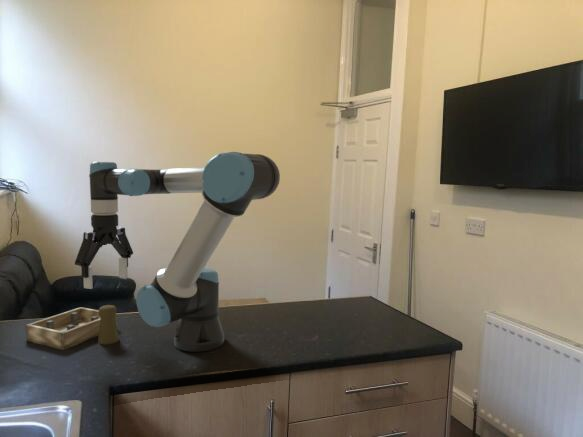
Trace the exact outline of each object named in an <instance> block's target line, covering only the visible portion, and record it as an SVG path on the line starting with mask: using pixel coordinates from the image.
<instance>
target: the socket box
mask: <svg viewBox="0 0 583 437" xmlns="http://www.w3.org/2000/svg"><path fill="white" fill-rule="evenodd" d="M98 312H99V309H94V308H93V309H92V308H88V307H82V306H79V307H77V308H73V309H70V310H68V311H65V312H61V313H58V314H55V315H52V316H49V317H46V318H44V319H39V320H37V321H33V322H31V323H28V324H25V334H26V341H27V342H31V343H33V344H38V345H42V346H45V347H50V348H54V349H58V350H62V351H64V350H67V349H69V348H71V347H74V346H77V345H79V344H81V343H84V342H86V341H89V340H92V339H94V338H96V337H99V328H100V319H101V317H100V316H99V313H98ZM116 315H117V314H116ZM116 315H115V319H116V320H117V316H116Z"/></svg>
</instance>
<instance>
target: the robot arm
mask: <svg viewBox="0 0 583 437" xmlns="http://www.w3.org/2000/svg"><path fill="white" fill-rule="evenodd" d="M88 177H89V189H90V190H89V193H90V213H91V215H90V225H91V227H92V232H91V231H84V232H83V234H82V242H81V245H80V246H79V249H78V253H77V256H76V258H75V260H74V265H75V266H79V267H81V277H82V279H83V289H89V290H92V289H94V287H93V284H94V283H93V282H94V281H93V266H92V265H91V263H92V262H93V260H94V259H95V257H96V255H97V253H99V250H100V248H102V247H103V246H106V245H111V246H112V247H113V249H114V250H115V251H116V252H117V253H118V255H119V257H118V278H119V279H124V280H127V279H128V267H129V259H130V258H131V256H132V255H133V254H134V251H133V249H132V246H131V243H130V241H129V239H128V236H127V234H126V228H125V227H120V226H119V215H118V214H117V213H119V200H118V199H119V196H118V195H120V196H129V197H140V196H143V195H145V196H146V195H162V194H164V195H166V194H167V195H169V194H192V193H193V194H194V193H195V194H197V193H199V194H200V193H201V195H202V198H203V202H202V203H201V206H200V208H199V209H198V211H197V213H196V215H195V217H194V218H193V221H191V224H190V225H189V226H188V229H187V231H186V233H185V234H184V237H183V238H182V239H181V242H180V243H179V246H178V248H177V249H176V251H175V252H174V255H173V257H172V258H171V260H170V262H169V264H168V266H167V267H163V268H161V269H159V270H158V272H157V273H156V275H155V277H154V279H153V281H152V282H151V283H150V284H145V285H143V286H141V288H139V289H138V291H137V293H136V297H135V298H136V299H135V302H136V304H135V305H136V307H137V311H138V314H139V316H140V317H141V319H142V320H143V321H144V322H145V323H146V324H147V325H149V326H150V327H153V328H160V327H162V326H168V325H169V324H172V323H174V322H176V321H178V324H177V327H176V330H175V333H174V337H173V344H174V345H173V346H174V348H176V349H178V350H180V351H183V352H188V353H189V352H191V353H194V352H195V353H199V352H206V351H207V352H208V351H212V350H215V349H218V348H219V347H221V346H222V345H224V342H225V332H224V331H223V327H222V324H221V320H220V318H219V316H220V315H219V303H220V302H219V300H220V298H219V296H220V295H219V291H220V290H219V287H220V286H219V284H220V282H219V273H218V272H217V271H216V270H214V269H212V268H211V269H210V268H206V266H207V264H208V263H209V261H210V259H211V257H212V256H213V254H214V252H215V251H216V249H217V247H218V245H219V244H220V242H221V241H222V239H223V237H224V236H225V234H226V232H227V231H228V229H229V227H230V225H231V224H232V222H233V220H234V219H235V218H238V217H239V218H240V217H242V216H243V215H244V214H245V212H246V211H247V209H248V207H249V206H250V204H251V202H252V201H255V200H263V199H266V198H267V197H270V196H271V195H273V193H274V192H275V191H277V189H278V187H279V185H280V182H281V181H280V177H281V175H280V170H279V167H278V166H277V164H276V162H275V161H274V160H273V159H272V158H270V157H268V156H266V155H263V154H258V153H257V154H256V153H242V152H239V151H238V152H237V151H229V152H222V153H218V154H216V155H215V156H212V157H211V159H210V160H208V161H207V162H206V164H205V166H198V167H197V166H196V167H195V166H194V167H181V168H180V167H179V168H165V169H164V168H163V169H146V168H145V169H143V168H141V169H140V168H139V169H138V168H118V164H117V163H116V162H113V161H112V162H111V161H110V162H109V161H92V162H90V164H89V176H88Z"/></svg>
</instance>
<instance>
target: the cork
mask: <svg viewBox="0 0 583 437" xmlns="http://www.w3.org/2000/svg"><path fill="white" fill-rule="evenodd" d="M98 310H99V312H98V313H99V316H100V317H101V319H100V328H99V336H97V337H98V338H97V343H98V344H100V345H112V344H115V343H117V342H118V341H119V340H120V338H119V331H118V326H117V318H116V319H115V315H117V312H118V311H117V307H116V305H111V304H106V305H102V306H100V307H99V309H98Z"/></svg>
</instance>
